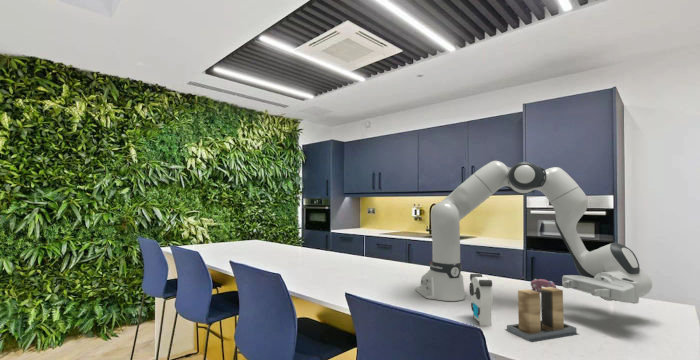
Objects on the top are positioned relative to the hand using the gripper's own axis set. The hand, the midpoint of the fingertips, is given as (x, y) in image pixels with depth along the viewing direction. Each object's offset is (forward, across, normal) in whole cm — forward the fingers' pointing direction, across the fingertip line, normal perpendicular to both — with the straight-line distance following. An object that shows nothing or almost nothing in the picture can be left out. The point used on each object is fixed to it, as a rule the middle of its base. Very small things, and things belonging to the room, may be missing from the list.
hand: (578, 288), depth 109 cm
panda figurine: (+26, -13, +13) cm, 32 cm away
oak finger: (+11, 0, +11) cm, 16 cm away
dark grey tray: (+16, 0, +12) cm, 20 cm away
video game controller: (-27, -37, +13) cm, 48 cm away
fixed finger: (+20, 0, +11) cm, 23 cm away
